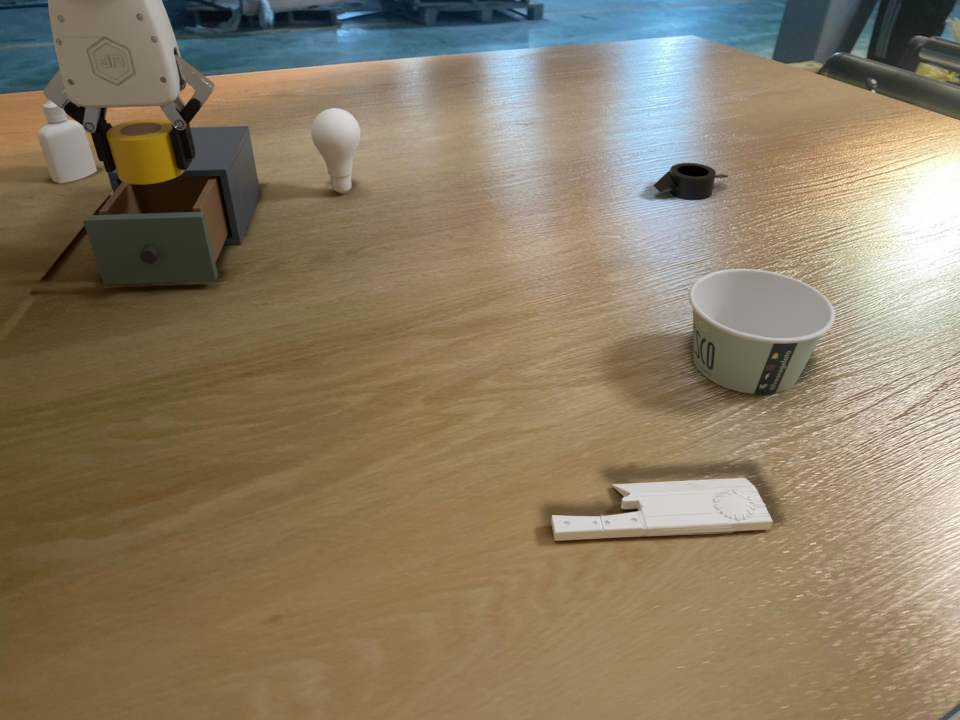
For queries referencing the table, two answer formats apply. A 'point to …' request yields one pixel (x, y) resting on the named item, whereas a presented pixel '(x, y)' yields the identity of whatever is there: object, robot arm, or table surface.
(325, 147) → the lightbulb
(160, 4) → the robot arm
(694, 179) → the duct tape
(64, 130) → the eye dropper bottle
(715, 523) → the butcher knife
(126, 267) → the drawer
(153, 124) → the tape roll
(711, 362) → the food container
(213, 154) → the cabinet
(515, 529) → the table surface
